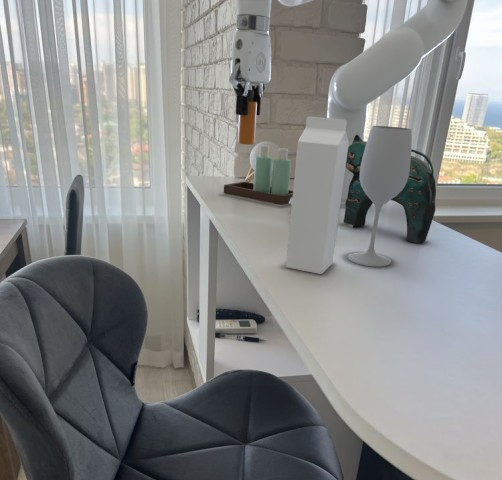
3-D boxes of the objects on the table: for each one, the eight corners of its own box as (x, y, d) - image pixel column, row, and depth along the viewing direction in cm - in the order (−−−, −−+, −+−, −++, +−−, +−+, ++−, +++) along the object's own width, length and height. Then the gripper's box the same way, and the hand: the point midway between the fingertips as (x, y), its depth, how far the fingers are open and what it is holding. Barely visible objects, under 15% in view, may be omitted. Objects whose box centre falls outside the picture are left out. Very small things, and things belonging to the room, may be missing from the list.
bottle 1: (271, 195, 129) (275, 146, 124) (267, 198, 125) (270, 147, 120) (255, 194, 130) (258, 144, 124) (250, 196, 126) (254, 146, 121)
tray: (299, 202, 126) (300, 191, 125) (280, 207, 120) (281, 196, 119) (243, 191, 135) (244, 181, 134) (223, 195, 129) (223, 184, 128)
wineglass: (338, 254, 88) (357, 124, 79) (375, 252, 91) (397, 126, 81) (362, 268, 82) (384, 129, 73) (401, 265, 84) (427, 130, 75)
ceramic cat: (333, 223, 108) (347, 123, 99) (350, 220, 113) (365, 123, 104) (417, 246, 96) (441, 133, 87) (433, 241, 100) (457, 133, 92)
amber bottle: (256, 143, 126) (259, 90, 121) (251, 145, 123) (255, 90, 117) (240, 142, 127) (243, 89, 122) (235, 143, 124) (238, 89, 118)
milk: (297, 258, 85) (312, 115, 75) (332, 264, 83) (352, 119, 73) (285, 267, 80) (299, 116, 70) (322, 275, 78) (341, 119, 68)
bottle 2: (289, 199, 126) (293, 148, 121) (285, 202, 122) (290, 150, 117) (272, 197, 127) (276, 147, 122) (268, 200, 123) (272, 148, 118)
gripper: (243, 21, 106) (239, 116, 114) (286, 31, 118) (279, 116, 126) (216, 21, 110) (213, 113, 118) (260, 31, 122) (255, 113, 130)
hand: (247, 114), depth 122 cm, fingers closed on amber bottle, 4 cm apart
